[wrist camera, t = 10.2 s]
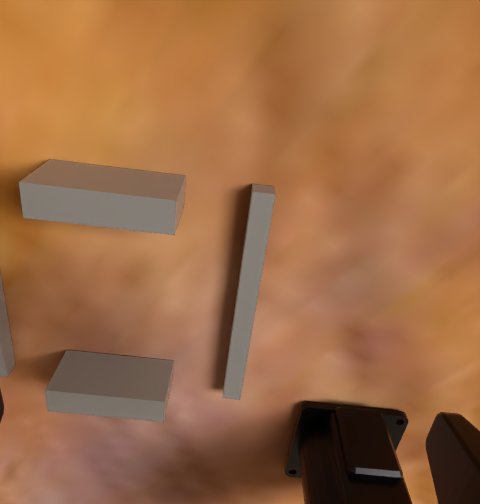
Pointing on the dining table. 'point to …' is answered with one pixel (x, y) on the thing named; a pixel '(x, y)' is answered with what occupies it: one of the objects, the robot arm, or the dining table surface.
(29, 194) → the blocks
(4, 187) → the dining table surface
